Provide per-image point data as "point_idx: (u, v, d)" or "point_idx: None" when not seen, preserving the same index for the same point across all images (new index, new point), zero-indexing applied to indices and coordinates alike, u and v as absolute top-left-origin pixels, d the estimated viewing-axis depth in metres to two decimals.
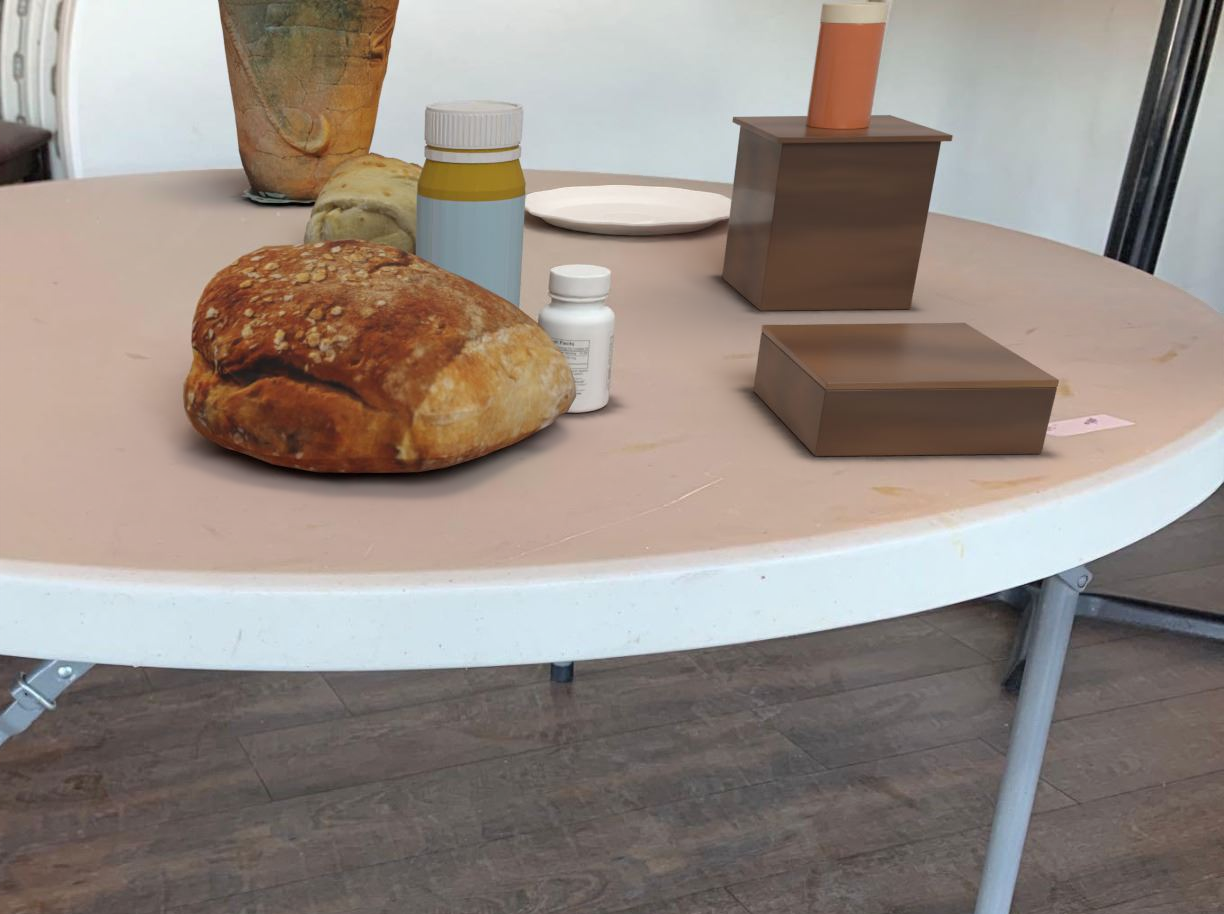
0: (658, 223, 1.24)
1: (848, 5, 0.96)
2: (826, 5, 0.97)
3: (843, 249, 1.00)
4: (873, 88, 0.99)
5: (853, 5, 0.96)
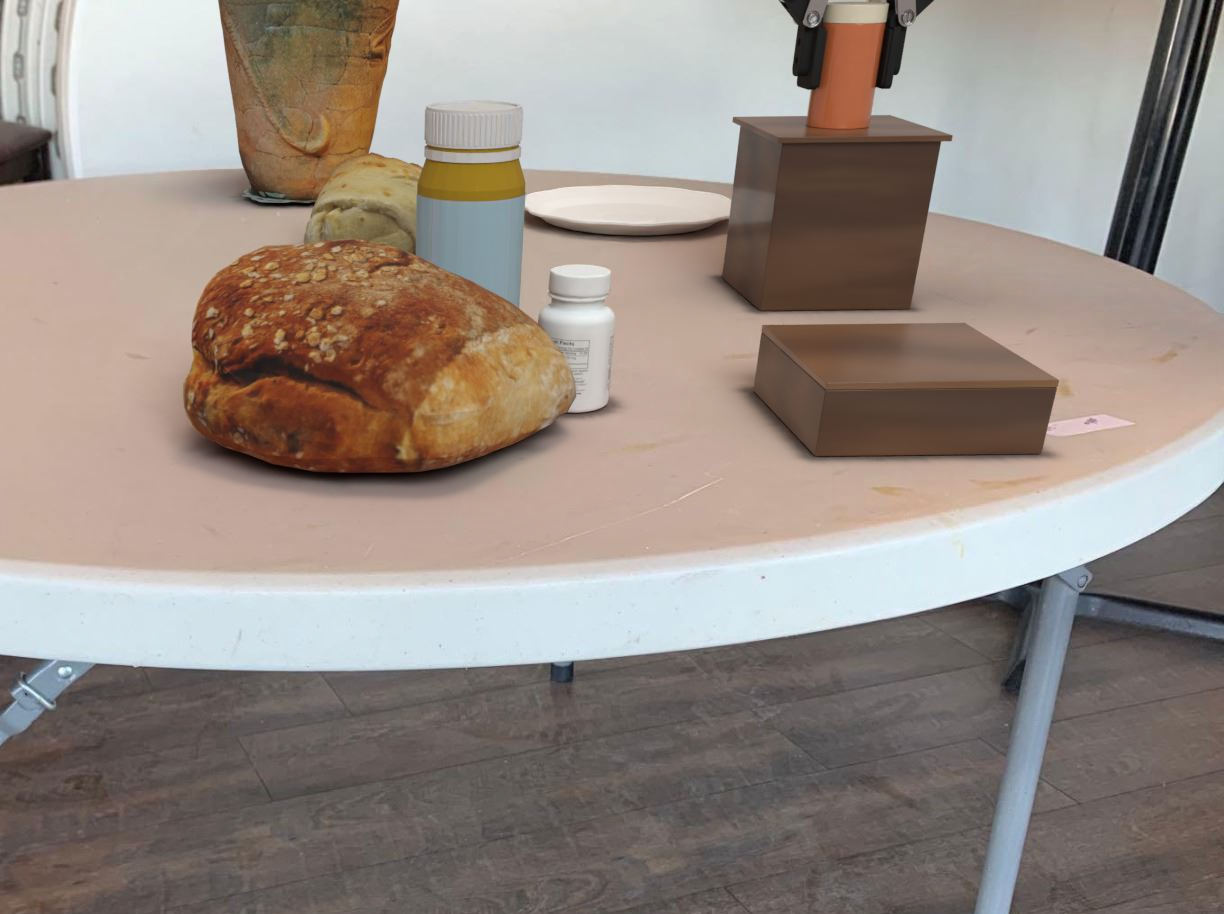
0: (658, 223, 1.24)
1: (848, 5, 0.96)
2: (826, 5, 0.97)
3: (843, 249, 1.00)
4: (873, 88, 0.99)
5: (853, 5, 0.96)
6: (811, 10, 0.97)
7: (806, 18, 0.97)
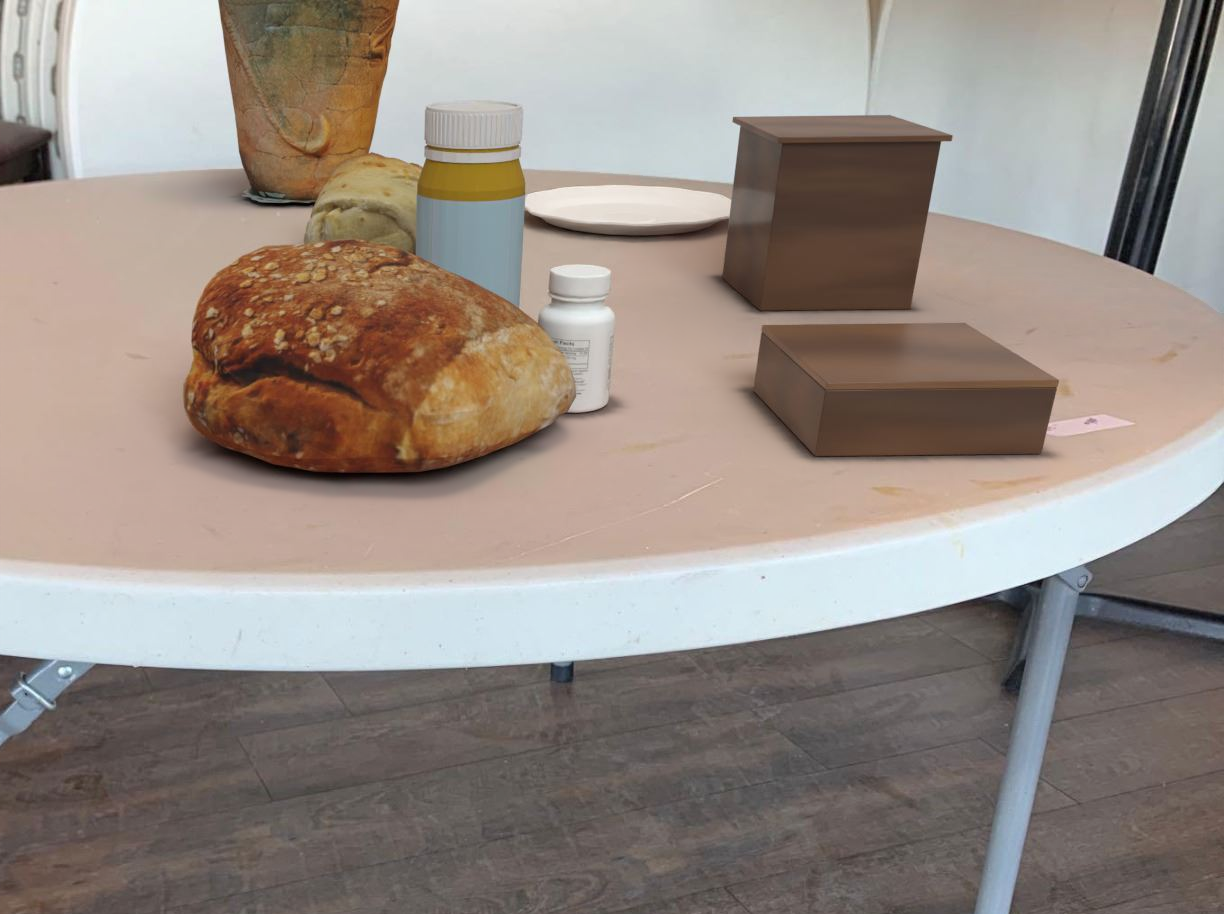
0: (658, 223, 1.24)
1: None
2: None
3: (843, 249, 1.00)
4: None
5: None
6: None
7: None
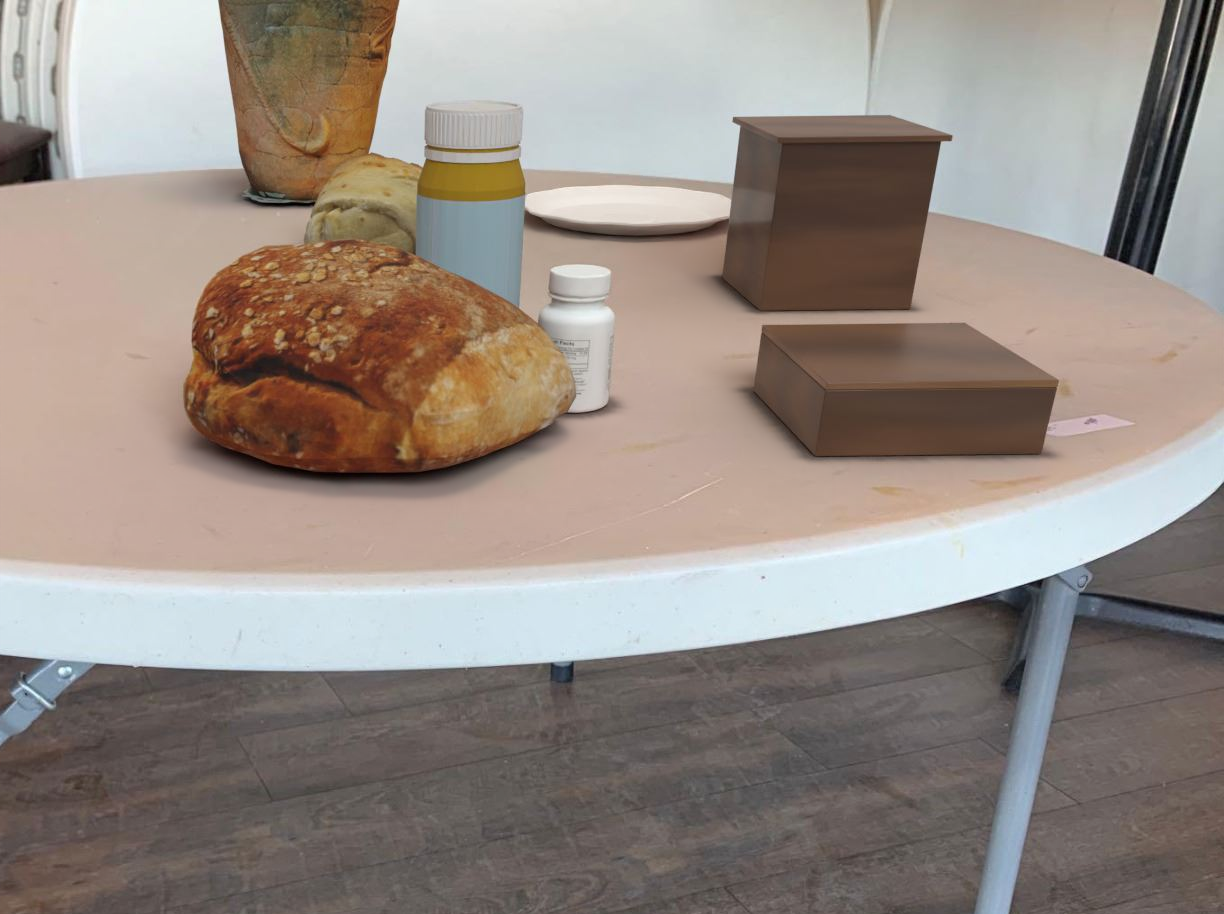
0: (658, 223, 1.24)
1: None
2: None
3: (843, 249, 1.00)
4: None
5: None
6: None
7: None
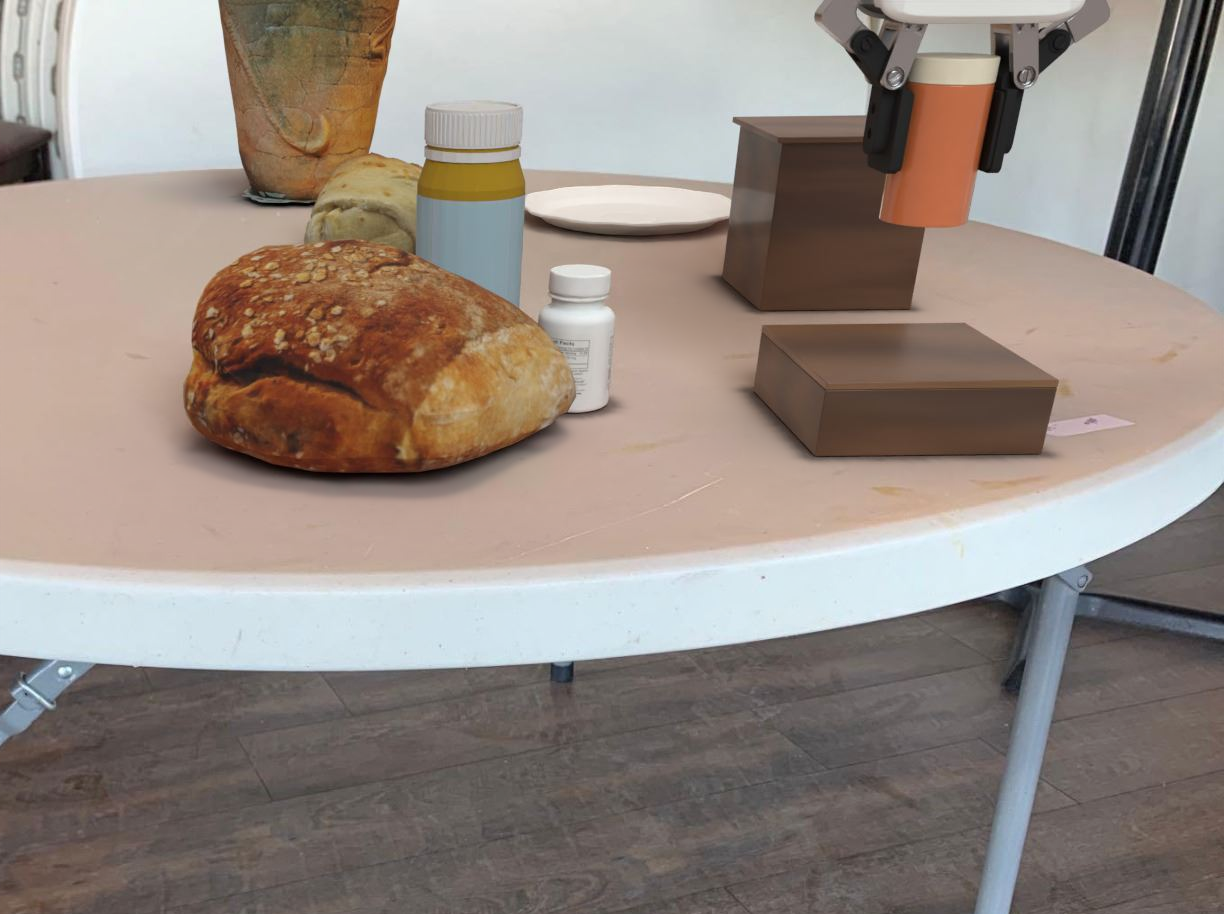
0: (658, 223, 1.24)
1: (945, 59, 0.69)
2: None
3: (843, 249, 1.00)
4: (975, 172, 0.72)
5: (952, 60, 0.69)
6: (893, 66, 0.70)
7: (885, 77, 0.70)
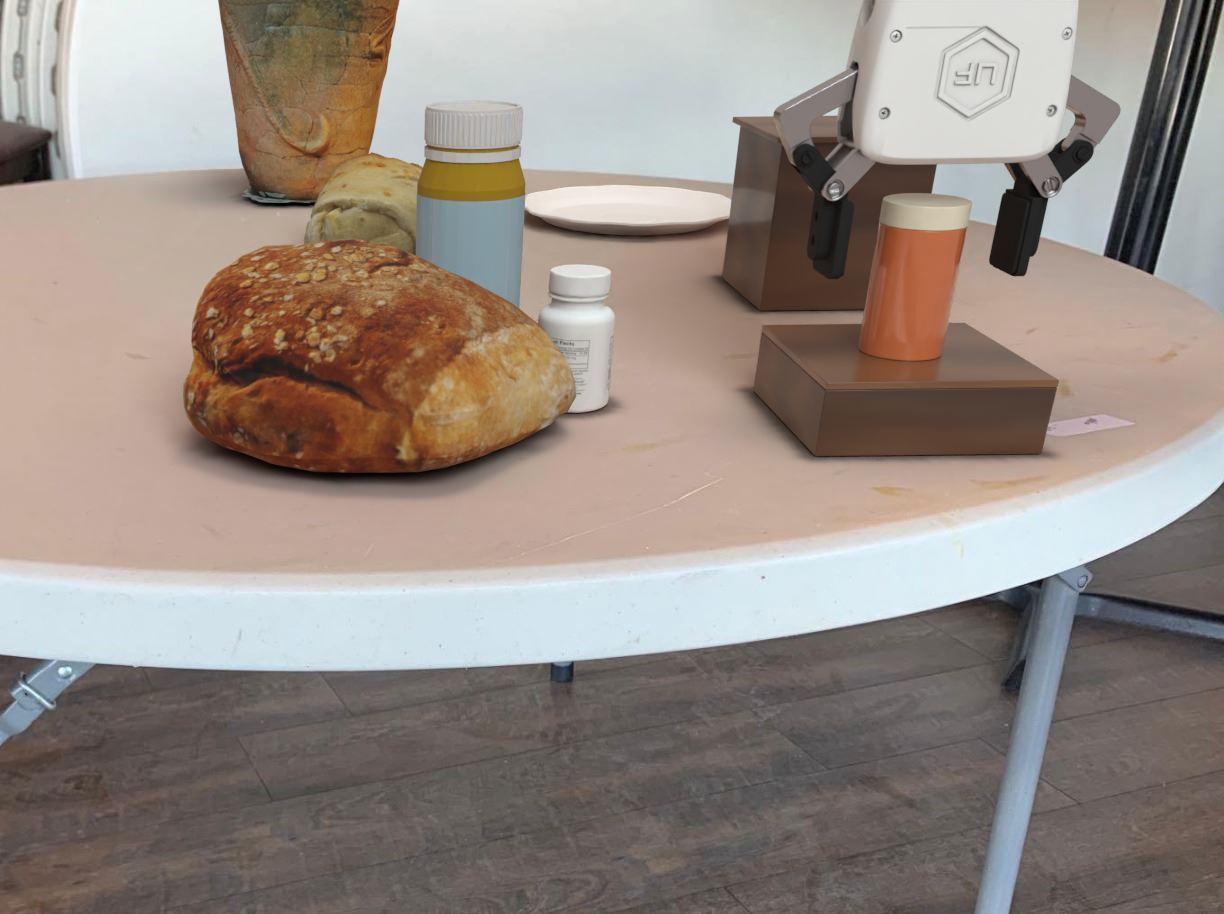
0: (658, 223, 1.24)
1: (919, 207, 0.72)
2: (888, 203, 0.73)
3: None
4: (949, 309, 0.75)
5: (926, 207, 0.72)
6: (837, 178, 0.72)
7: (827, 184, 0.72)
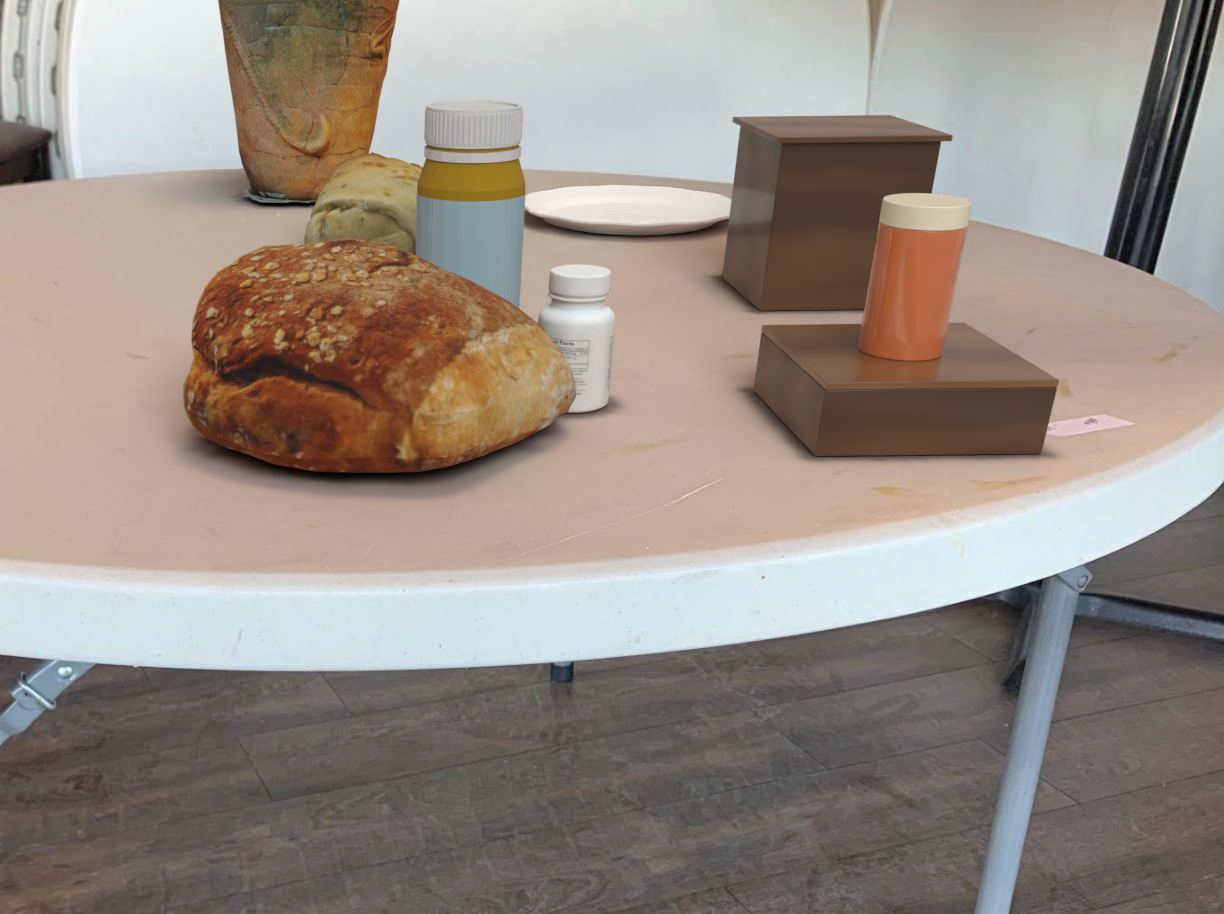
0: (658, 223, 1.24)
1: (919, 207, 0.72)
2: (888, 203, 0.73)
3: (843, 249, 1.00)
4: (949, 309, 0.75)
5: (926, 207, 0.72)
6: None
7: None
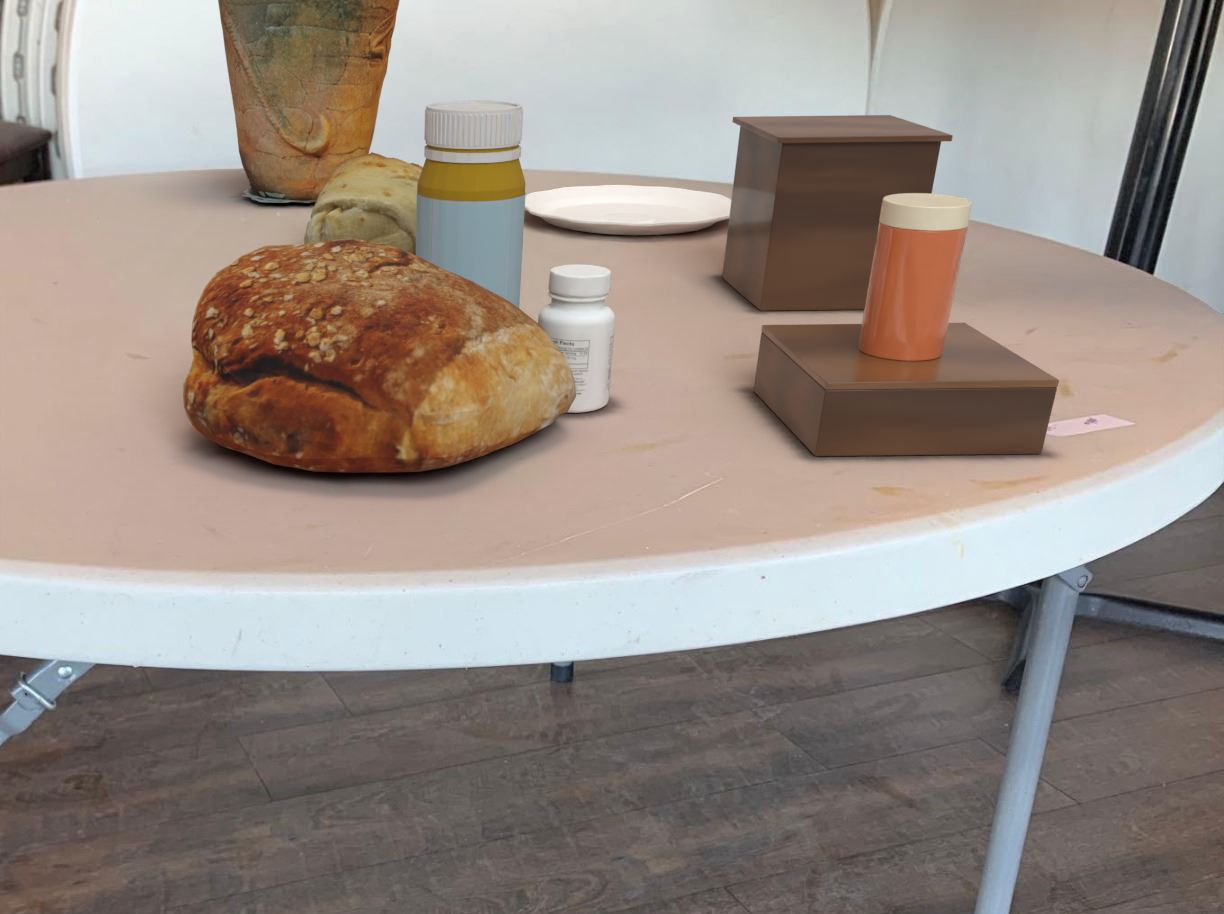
0: (658, 223, 1.24)
1: (919, 207, 0.72)
2: (888, 203, 0.73)
3: (843, 249, 1.00)
4: (949, 309, 0.75)
5: (926, 207, 0.72)
6: None
7: None
